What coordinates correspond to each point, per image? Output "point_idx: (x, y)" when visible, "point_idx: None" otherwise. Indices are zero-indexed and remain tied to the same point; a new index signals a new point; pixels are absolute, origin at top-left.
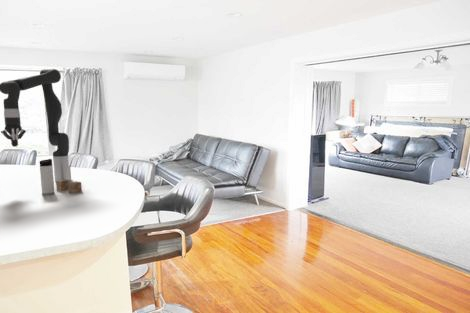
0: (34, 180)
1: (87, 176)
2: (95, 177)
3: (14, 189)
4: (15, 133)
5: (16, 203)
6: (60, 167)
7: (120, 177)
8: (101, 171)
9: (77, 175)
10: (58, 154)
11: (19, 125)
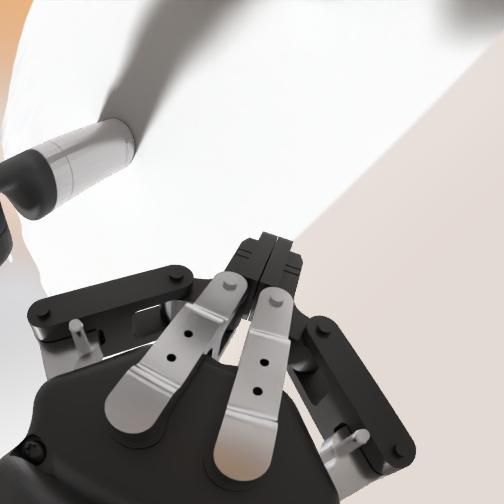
0: (156, 243)
1: (53, 122)
2: (52, 81)
3: (295, 190)
4: (204, 363)
5: (473, 5)
6: (86, 142)
7: (37, 14)
8: (13, 151)
9: None
10: (40, 167)
11: (40, 449)
